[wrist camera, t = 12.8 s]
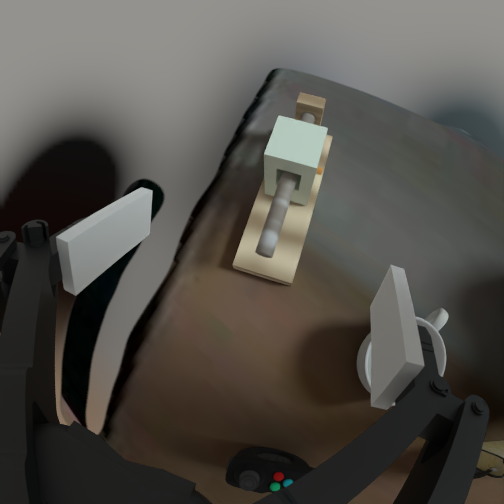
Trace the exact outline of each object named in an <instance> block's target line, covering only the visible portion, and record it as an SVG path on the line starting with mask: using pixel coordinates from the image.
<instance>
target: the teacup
mask: <svg viewBox="0 0 504 504" xmlns="http://www.w3.org/2000/svg"><path fill="white" fill-rule="evenodd" d="M447 320H448V314H447V312H446V311H445V310H444V309H443V308H439V309H437V310H435V311H433V312H432V313H431V314H430V315H428V316H427V317H426V318H425V319H422V318H420V317H416V322H417V325H419V326H423V327H426V329H427V331H428V332H429V334H430V335H431V338H432V343H433V347H434V353H435V357H436V362H437V367H438V372H439V375H440V376H441V377H442V376H443V374H444V371H445V365H446V350H445V346H444V343H443V340H442V338H441V336H440V334H439V332H438V331H439V330H440V329H441V328H442V327H443V326H444V325H445V323H446V322H447ZM357 372H358V376H359V379H360V381H361V383H362V384H363V386H364V387H365V388H366V390H367V391H368V392H369V393H371V332H370V333H369V334H368V335H367V337H366V338H365V339H364V341H363V342H362V344H361V346H360V349H359V352H358V355H357ZM392 406H395V402H394V403H393V404H392Z"/></svg>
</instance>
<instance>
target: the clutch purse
mask: <svg viewBox="0 0 504 504" xmlns="http://www.w3.org/2000/svg"><path fill="white" fill-rule="evenodd" d="M475 472H477V473H475V474H474V477H473V479H475V478H480V477H484V476H486V475H488V476H491V477H495V478H503V477H504V440H501V441H488V442H483V446H482V450H481V453H480V457H479V461H478V464H477V467H476V471H475Z"/></svg>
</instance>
